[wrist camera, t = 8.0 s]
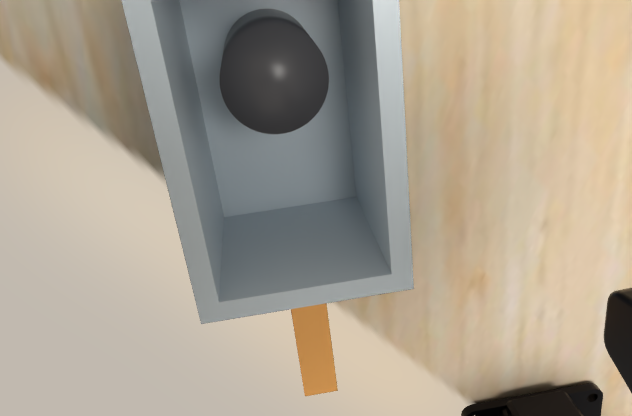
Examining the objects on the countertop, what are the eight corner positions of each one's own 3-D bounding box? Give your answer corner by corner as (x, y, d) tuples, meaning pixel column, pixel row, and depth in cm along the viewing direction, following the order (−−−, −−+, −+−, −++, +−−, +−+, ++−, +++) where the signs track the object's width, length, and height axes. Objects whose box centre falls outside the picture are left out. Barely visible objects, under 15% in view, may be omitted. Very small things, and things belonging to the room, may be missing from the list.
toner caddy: (376, 274, 23) (418, 376, 18) (226, 299, 23) (222, 410, 17) (349, -61, 18) (395, -62, 12) (154, -36, 17) (114, -26, 12)
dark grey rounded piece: (317, 90, 19) (335, 124, 15) (233, 104, 19) (231, 142, 15) (304, 1, 18) (321, 16, 14) (215, 16, 18) (208, 35, 14)
